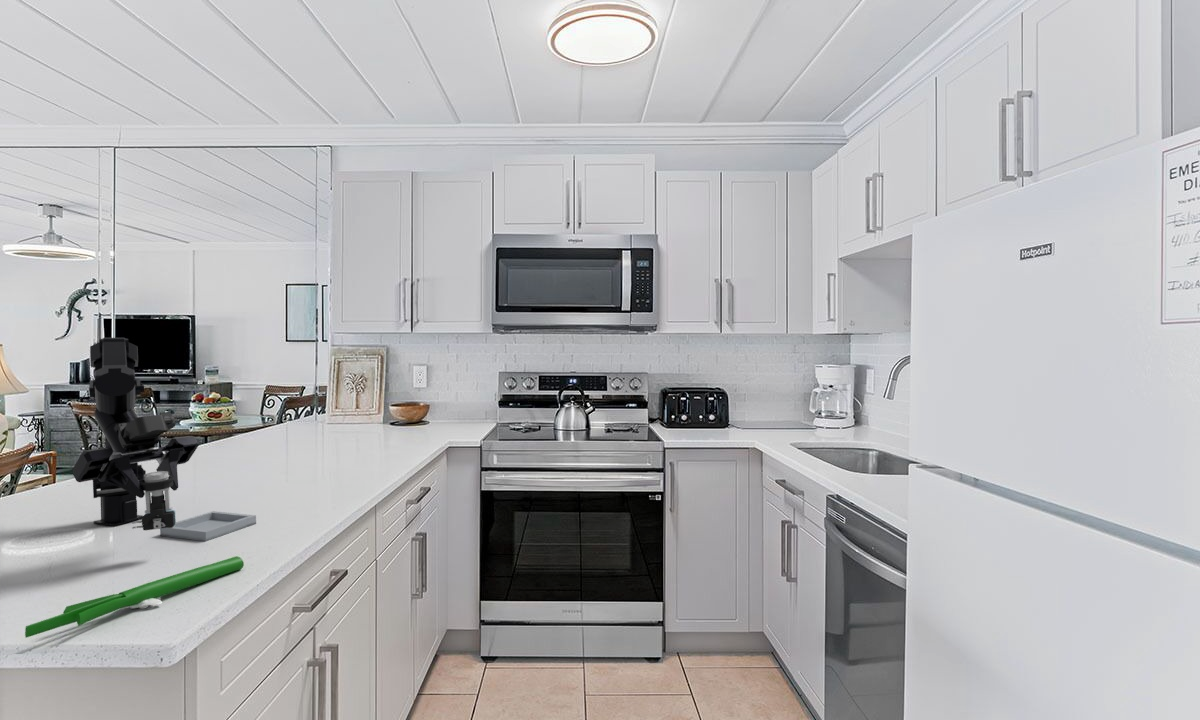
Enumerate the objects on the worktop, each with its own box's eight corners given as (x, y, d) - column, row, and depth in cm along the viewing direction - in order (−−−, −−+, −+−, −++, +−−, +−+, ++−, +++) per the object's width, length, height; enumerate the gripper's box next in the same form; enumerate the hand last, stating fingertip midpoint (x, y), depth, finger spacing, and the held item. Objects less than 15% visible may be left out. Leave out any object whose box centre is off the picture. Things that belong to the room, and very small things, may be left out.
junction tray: (160, 535, 123) (160, 527, 123) (213, 519, 135) (212, 511, 135) (206, 541, 120) (205, 532, 120) (256, 523, 132) (256, 515, 132)
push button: (128, 535, 107) (124, 480, 106) (136, 525, 112) (133, 472, 111) (174, 529, 110) (170, 475, 109) (180, 520, 115) (176, 468, 114)
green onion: (228, 573, 106) (14, 644, 78) (229, 554, 106) (15, 618, 78) (249, 577, 104) (38, 651, 76) (250, 558, 104) (39, 625, 76)
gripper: (79, 404, 103) (119, 475, 99) (192, 394, 120) (229, 455, 116) (55, 446, 107) (93, 516, 103) (168, 431, 124) (204, 491, 120)
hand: (159, 492), depth 110 cm, fingers closed on push button, 5 cm apart
